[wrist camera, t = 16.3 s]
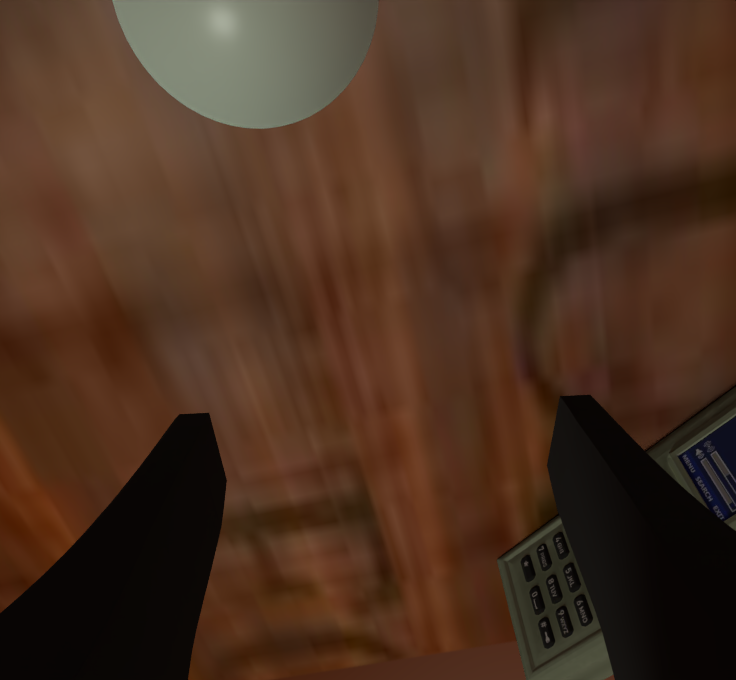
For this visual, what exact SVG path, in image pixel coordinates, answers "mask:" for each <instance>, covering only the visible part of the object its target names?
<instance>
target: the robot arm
mask: <svg viewBox="0 0 736 680" xmlns="http://www.w3.org/2000/svg"><path fill="white" fill-rule="evenodd" d="M547 467H548V471H549V476H550V480H551V485H552V489H553V493H554V497H555V501H556V505H557V509H558V512H559V515H560V518H561V521H562V524H563V526H564V529H565V532H566V534H567V537H568V540H569V543H570V545H571V548H572V551H573V553H574V556H575V559H576V561H577V564H578V567H579V569H580V572H581V575H582V577H583V580H584V583H585V585H586V588H587V591H588V593H589V596H590V599H591V601H592V604H593V606H594V609H595V612H596V615H597V618H598V621H599V624H600V627H601V630H602V633H603V637H604V641H605V644H606V648H607V652H608V656H609V659H610V663H611V667H612V671H613V674H614V678H615V680H736V531H735V530H734V529H733V528H731V527H730V526H729V525H727V524H726V523H725V522H723V521H722V520H721V519H720V518H719V517H717V516H716V515H715V514H714V513H712V512H711V511H710V510H709V509H707V508H706V507H705V506H704V505H703V504H702V503H700V502H699V501H698V500H697V499H696V498H695V497H694V496H692V495H691V494H690V493H689V492H688V491H687V490H685V489H684V488H683V487H682V486H681V485H680V484H679V483H678V482H677V481H676V480H675V479H673V478H672V477H671V476H670V475H669V474H668V473H667V472H666V471H665V470H664V469H663V468H662V467H661V466H660V465H659V464H658V463H657V462H656V461H655V460H654V459H652V458H651V457H650V456H649V455H648V454H647V453H646V452H645V451H644V450H643V449H642V448H641V447H640V446H639V445H638V444H637V443H636V442H635V441H634V440H633V439H632V438H631V437H630V436H629V435H628V434H627V433H626V432H625V430H624V429H623V428H622V427H621V426H620V425H619V424H618V423H617V422H616V421H615V420H614V419H613V418H612V417H611V416H610V415H609V414H608V413H607V412H606V411H605V410H604V409H603V408H602V407H601V405H600V404H599V403H598V402H597V401H596V400H595V399H594V398H593V397H592V396H591V395H576V396H560V399H559V405H558V410H557V415H556V421H555V426H554V431H553V437H552V442H551V447H550V453H549V458H548V463H547ZM226 482H227V480H226V476H225V472H224V468H223V464H222V461H221V457H220V453H219V449H218V445H217V441H216V438H215V434H214V430H213V426H212V422H211V419H210V415H209V413H197V414H179V415H178V416H177V418H176V419H175V420H174V421H173V423H172V424H171V425H170V427H169V428H168V429H167V431H166V432H165V433H164V435H163V436H162V438H161V439H160V440H159V442H158V443H157V444H156V446H155V447H154V448H153V450H152V451H151V453H150V454H149V455H148V456H147V458H146V459H145V460H144V462H143V463H142V464H141V466H140V467H139V468H138V470H137V471H136V472H135V473H134V475H133V476H132V477H131V478H130V480H129V481H128V482H127V483H126V485H125V486H124V487H123V488H122V490H121V491H120V492H119V494H118V495H117V496H116V497H115V498H114V500H113V501H112V502H111V503H110V504H109V505H108V507H107V508H106V509H105V510H104V511H103V512H102V513H101V515H100V516H99V517H98V518H97V519H96V520H95V521H94V523H93V524H92V525H91V526H90V527H89V528H88V529H87V531H86V532H85V533H84V534H83V535H82V536H81V537H80V538H79V539H78V540H77V541H76V542H75V544H74V545H73V546H72V547H71V548H70V549H69V550H68V551H67V552H66V553H65V554H64V555H63V556H62V557H61V558H60V559H59V560H58V561H57V562H56V563H55V564H54V565H53V566H52V567H51V568H50V569H49V570H48V571H47V572H46V573H45V574H44V575H43V576H42V577H41V578H39V579H38V580H37V581H36V582H35V583H34V584H33V585H32V586H31V587H30V588H28V589H27V590H26V591H25V592H24V593H23V594H22V595H21V596H20V597H18V598H17V599H16V600H15V601H14V602H13V603H12V604H10V605H9V606H8V607H7V608H6V609H5V610H4V611H2V612H1V613H0V680H188V675H189V668H190V661H191V654H192V648H193V643H194V638H195V633H196V629H197V625H198V620H199V616H200V612H201V608H202V604H203V600H204V596H205V592H206V588H207V584H208V580H209V576H210V572H211V568H212V564H213V559H214V555H215V551H216V547H217V543H218V539H219V534H220V530H221V525H222V517H223V509H224V501H225V491H226Z"/></svg>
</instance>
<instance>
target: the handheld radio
mask: <svg viewBox="0 0 736 680" xmlns="http://www.w3.org/2000/svg"><path fill="white" fill-rule="evenodd" d="M646 453H647V454H648V455H649V456H650V457H651V458H652V459H654V460H655V461H656V462H657V463H658V464H659V465H660V466H661V467H662V468H663V469H664V470H665V471H666V472H667V473H668V474H669V475H670V476H671V477H672V478H673V479H675V480H676V481H677V482H678V483H679V484H680V485H681V486H682V487H683V488H684V489H685V490H687V491H688V492H689V493H690V494H691V495H692V496H694V497H695V498H696V499H697V500H698V501H699V502H700V503H702V504H703V505H704V506H705V507H706V508H707V509H709V510H710V511H711V512H712V513H714V514H715V515H716V516H717V517H719V518H720V519H721V520H722V521H723V522H725V523H726V524H727V525H729V526H730V527H731V528H733V529H734V530H735V531H736V387H735V388H733V389H732V390H730V391H729V392H728V393H726V394H725V395H723V396H722V397H721V398H719V399H718V400H717V401H715V402H714V403H712V404H711V405H710V406H708V407H707V408H706V409H704V410H703V411H701V412H700V413H699V414H697V415H696V416H695V417H693V418H692V419H690V420H689V421H688V422H686V423H685V424H683V425H682V426H681V427H679V428H678V429H677V430H675V431H674V432H672V433H671V434H670V435H668V436H667V437H666V438H664V439H663V440H661V441H660V442H659V443H657V444H656V445H655V446H653V447H652V448H650V449H649V450H648V451H646ZM497 562H498V566H499V570H500V574H501V578H502V582H503V587H504V591H505V595H506V599H507V603H508V607H509V611H510V615H511V619H512V623H513V627H514V631H515V635H516V639H517V643H518V647H519V652H520V656H521V659H522V663H523V667H524V672H525V676H526V680H604V679H606V678H608V677H609V676H611V675H613V671H612V667H611V663H610V659H609V656H608V652H607V648H606V644H605V641H604V637H603V633H602V630H601V627H600V624H599V621H598V618H597V615H596V612H595V609H594V606H593V604H592V601H591V599H590V596H589V593H588V591H587V588H586V585H585V583H584V580H583V577H582V575H581V572H580V569H579V567H578V564H577V561H576V559H575V556H574V553H573V551H572V548H571V545H570V543H569V540H568V537H567V534H566V532H565V529H564V526H563V524H562V521H561V518H560V515H558V516H557V517H555V518H554V519H552V520H551V521H550V522H548V523H547V524H546V525H544V526H543V527H541V528H540V529H539V530H537V531H536V532H535V533H533V534H532V535H530V536H529V537H528V538H526V539H525V540H524V541H522V542H521V543H519V544H518V545H517V546H515V547H514V548H512V549H511V550H510V551H508V552H507V553H506V554H504V555H503V556H501V557H500V558H499V559H497Z"/></svg>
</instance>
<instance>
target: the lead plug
mask: <svg viewBox="0 0 736 680" xmlns="http://www.w3.org/2000/svg"><path fill="white" fill-rule="evenodd" d="M112 1H113V4H114V8H115V11H116V14H117V17H118V20H119V23H120V25H121V27H122V30H123V32H124V34H125V37H126V39H127V41H128V42H129V44H130V46H131V48H132V49H133V51H134V53H135V55H136V56H137V58H138V59H139V60H140V62H141V63H142V65H143V66H144V67H145V69H146V70H147V71H148V72H149V74H150V75H151V76H152V77H153V78H154V79H155V80H156V81H157V83H158V84H159V85H160V86H161V87H163V88H164V89H165V90H166V91H167V92H168V93H169V94H170V95H171V96H173V97H174V98H175V99H177V100H178V101H179V102H181V103H182V104H184V105H185V106H186V107H188V108H190V109H192V110H193V111H195V112H197V113H199V114H201V115H203V116H205V117H207V118H210V119H212V120H215V121H217V122H221V123H224V124H228V125H231V126H237V127H244V128H272V127H280V126H284V125H288V124H292V123H295V122H298V121H300V120H303V119H305V118H307V117H309V116H311V115H313V114H315V113H316V112H318V111H320V110H322V109H323V108H324V107H326V106H327V105H328V104H329V103H331V102H332V101H333V100H334V99H335V98H336V97H337V96H338V95H339V94H340V93H341V92H342V91H343V90H344V89H345V88H346V87H347V86H348V84H349V83H350V82H351V80H352V79H353V78H354V76H355V75H356V73H357V71H358V70H359V68H360V66H361V64H362V63H363V61H364V59H365V56H366V54H367V51H368V49H369V46H370V44H371V41H372V37H373V33H374V30H375V26H376V19H377V12H378V0H112Z"/></svg>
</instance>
